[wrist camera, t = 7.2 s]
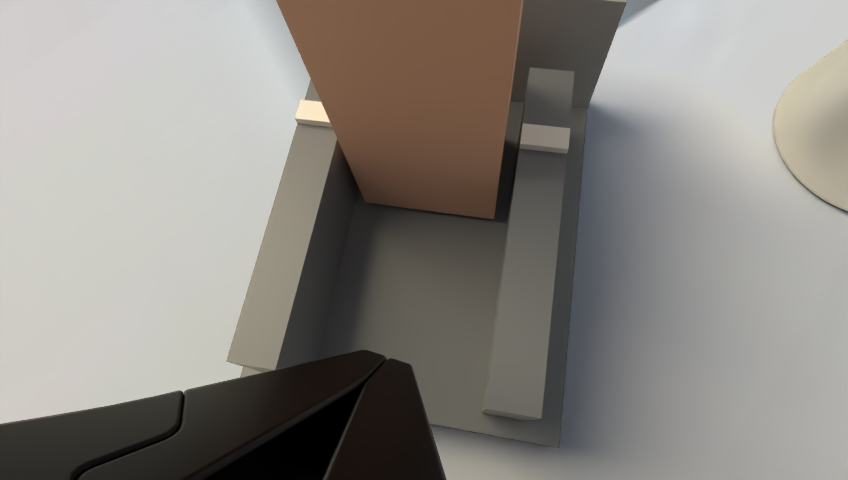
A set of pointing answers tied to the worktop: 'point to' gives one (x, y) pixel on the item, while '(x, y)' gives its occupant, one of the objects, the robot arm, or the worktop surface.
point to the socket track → (443, 251)
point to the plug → (415, 94)
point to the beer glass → (817, 127)
